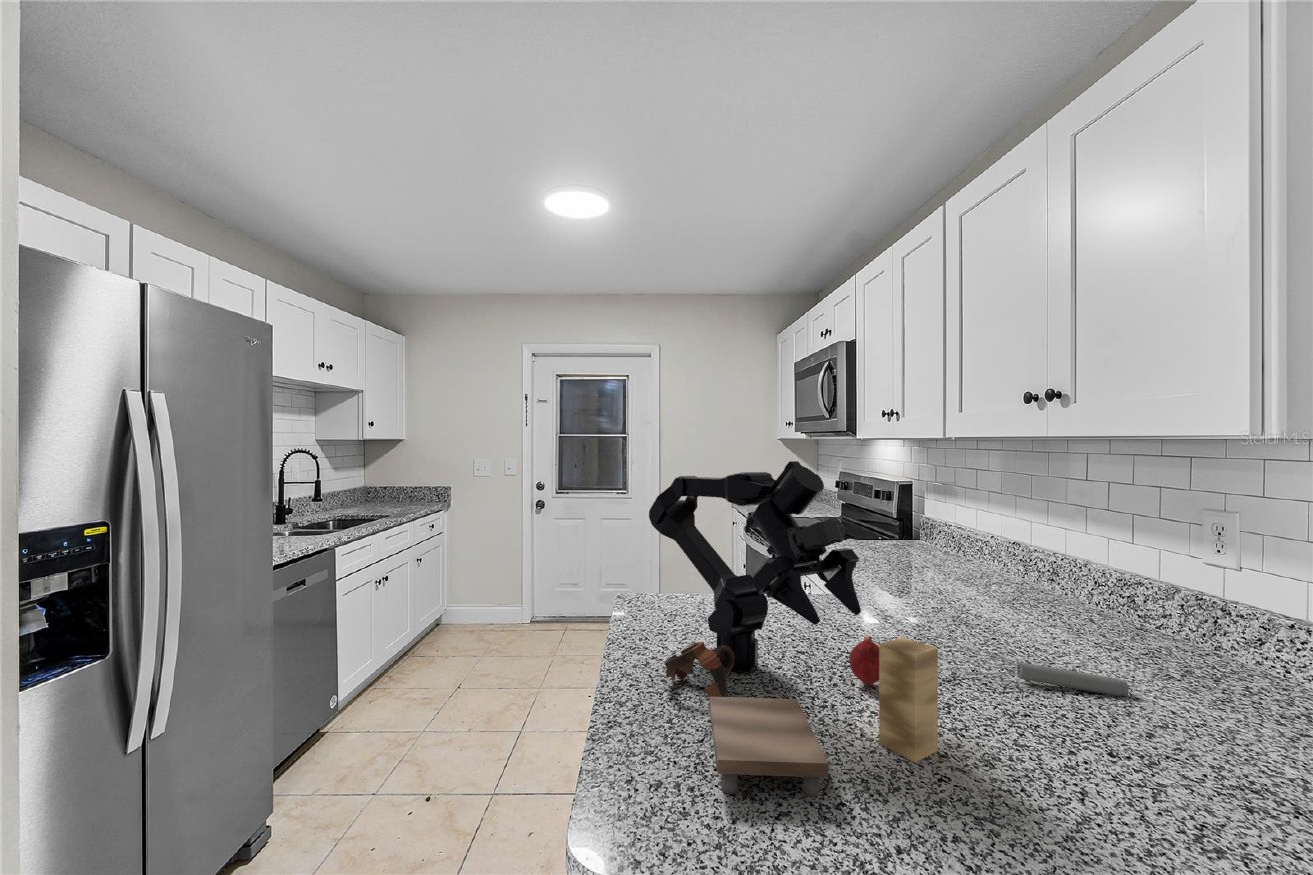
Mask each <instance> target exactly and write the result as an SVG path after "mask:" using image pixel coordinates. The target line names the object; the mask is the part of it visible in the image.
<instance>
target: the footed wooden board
mask: <svg viewBox="0 0 1313 875" xmlns="http://www.w3.org/2000/svg"><path fill="white" fill-rule="evenodd" d="M708 699H709V700H708V704H709V705H708V709H709V717H710V724H711V733H712V734H711V735H712V740H713V742H712V743H713V748H714V754H715V755H714V756H715V765H716V772H717V774H719V775H720V774H721V791H722V792H723V793H725V794H728V795H734V794H737V792H739V775H740V776H741V775H744V776H746V775H748V776H769V777H770V776H774V777H776V776H777V777H797V778H798V777H800V778H802V793H803V794H804V795H806V796H807V797H810V798H817V797H818V796H820V781H821V780H820V779H821V778H827V779H828V778H829V762H828V760H827V758H826V755H825V754H824V751H823V750H822V748H821V746H820V743H819V742H818V739H817V737H816V735H815V733H814V730H813V729H812V727H811V724H810V723H809V720H808V719H807V717H806V715H805V712H804V711H803V709H802V706H801V704H800V702H799V700H798V699H797V698H795V699H794V698H771V697H770V698H768V697H767V698H764V697H763V698H761V697H735V696H734V697H733V696H731V697H730V696H722V697H708Z"/></svg>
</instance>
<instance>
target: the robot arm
mask: <svg viewBox="0 0 1313 875" xmlns="http://www.w3.org/2000/svg"><path fill="white" fill-rule="evenodd" d="M824 488H825V486H824V481H823V480H822V478H821V477H820V476H819V474H817V473H816V472H814V471H812V470H811V469H810V468H808V467H805V466H803V465H802V464H801V463H800V462H799V461H797V460H796V461H795V460H794V461H793V460H791V461H790V460H789V461H788V462H787V463H786V465H785V467H784V469H783V470H782V471H781V473H780V474H779V476H778V477H777V478H776V479H774V477H773V475H772V473H770V472H768V471H751V472H750V471H747V472H746V471H745V472H736V473H733V474H728V475H726V476H724V477H706V476H703V477H700V476H696V475H680V476H678V477H675V478H674V479H673V481H672V483H671V485H670V486H669V487H667V488H666V489H665V490H664V491H662V492H661V493H659V494H658V495H657V497H656V498H655V500H654V501H653V503H652V505H651V507H650V509H649V511H648V518H649V521H650V522H649V523H651V525H652V527H653V528H654V529H655V530H656V531H657V532H659V533H660V535H662V536H665V537H666V538H669V539H671V540H673V541H674V542H676V544H677V545H678V547H679V548H680V549H681V551H682V552H683V553H684V555H685V556H686V557H687V558H688V560H689V561H690V562H691V564H692V565H693V566H694V568H695V569H696V570H697V572H698V573H699V574H700V576H701V577H702V578H703V580H704V581H705V582H706V584H707V585H708V586H709V587H710V588H711V590H712V591H713V603H714V608H715V609H714V610H713V612H712V613H711V614H710V615H709V616H708V617H707V622H708V623H707V624H708V628H709V631H711V632H713V633H715V634H716V648H717V647H719V646H722V645H726V646H728V647H730V648H731V650H732V651H733V653H734V659H735V660H734V665H733V667H732V669H731V671H732V672H739V673H744V674H751V673H752V671H753V670H754V668H755V667H756V666H757V664H758V662H759V640H758V638H756V631H757V630H759V631H760V630H762V629H763V626H764V623H765V621H766V618H767V615H768V612H769V611H768V610H769V601H768V599H769V598H772V599H773V600H775V601H777V602H779V603H780V604H782V605H784V606H785V607H787V608H788V609H790V610H792V611H793V612H795V613H796V614H797V615H799V616H801V618H802V617H803V619H805V620H807V622H810V623H811V624H812V625H813V626H814V625H815V626H816V625H818V624H819V623H820V622H821V619H820V617H819V614H818V613H817V612H818V611H816V609H815V607H814V604H813V603H812V601H811V600H810V598H809V596H808V594H807V593H806V591H805V589H804V588H803V584H802V577H804V576H811V575H817V576H818V578H819V579H820V580H821V581H823V582H824V584H823V586H824V587H825V588H826V589H827V590H828V591H829V592H830V593H831V595H833V596H834V597H835V598H836V599H837V601H839V602H840V603H842V605H843V606H844V607H845V608H847V609H848V611H850V612H851V613H852V614H853V615H855V616H858V615H860V614H861V613H862V608H861V605H860V602H859V598H858V595H857V593H856V589H855V586H854V581H853V572H854V569H855V568H857V563H859V561H860V558H859V556H858V555H857V554H856V552H855V551H854V550H853V548H848V547H847V548H846V547H844V548H843V547H842V548H836V549H832V550H831V551H829V553H827V555H825V557H824V558H823V559H821V558H820V557H821V556H824V554H825V553H826V552H828V550H827V548H826V547H828V546H830V545H833V544H836V543H837V544H838V543H842V542H843V541H844V538H843V537H845V536H846V526H845V525H844V524H843V523H842V522H841V521H840V519H838V518H837V517H828V518H827V519H826V520H823V521H818V522H815V523H813V524H811V525H809V526H807V525H804V526H803V525H801V526H800V524H799V523H798V522H797V521H796V519H795V518H794V516H793V515H799V516H800V515H801V514H803V513H804V512H805V511H806V510H807V509H808V507H809V506H810V505H811V504H812V503H813V502H814V500H816V498H817V497H818V496H819V495H820V494H821V492H822V491H823V490H824ZM681 497H685V499H682V498H681ZM699 497H705V498H718V499H719V498H721V499H724V500H726V502H728V503H730V504H732V505H733V504H734V505H736V506H739V507H747V506H748V507H749V506H756V508H755V509H754V511H751V512H750V511H749V512H748V513H747V519H746V522H745V528H746V529H759V531H760V532H761V533H762V536H763V537H764V538H765V540H766V541H767V543H768V545H769V546H768V548H767V549H766V552H767V554H768V555H769V556H772V557H768V558H767V559H766V560H765V561H764V562H763V564H762V565H761V566H760V567H759V568H758V569H757V571H756V572H755V573H754V574H753V576H752V575H751V574H743V575H736V573H734V572H733V571H732V569H731V568H730V566H728V565H727V563H726V562H725V561H724V560H723V558H722V557H721V555H720V554H719V553H717V551H716V550H715V549H714V547H713V546H712V545H711V543H710V542H709V541H708V540H707V539H706V538H705V536H704V535H703V534H702V533H701V532H700V530H699V529H698V528H697V527H696V517H695V516H696V515H695V512H696V510H697V509H698V498H699ZM773 555H775V556H774V557H773ZM765 594H766V595H765ZM720 661H721V663H722V665H724V662H725V656H724V655H723V654H722V655H721V657H720ZM731 671H730V672H731Z"/></svg>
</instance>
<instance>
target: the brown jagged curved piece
mask: <svg viewBox="0 0 1313 875" xmlns="http://www.w3.org/2000/svg"><path fill="white" fill-rule="evenodd" d="M722 654H723V655H724V656H725V662H724V665H722V663H721V661H720V657H721V655H722ZM696 660H697V661H698V663H699V665H700V667H701V668H702V669H703V670H704V671H708V672H709V673H710V674H711V676H712V678H713V682H712V684H710V685H708V686H707V687H705V689H704V690H705V693H706V694H707V696H708V698H709V697H724V696H725V695H726V694H728V692H729V688H728V682H727V676H728V674H730V672H731V669H732V667H733V665H734V660H735V659H734V653H733V651H732V650H731V648H730V647H728V646H726V645H722V646H719V647H717V646H716V647H714V648H713V649H712V648H711V649H710V648H707V646H706V644H705V642H704V641H699V642H696V643H694V644H692V645H690V646H688V647H686V648H684V649H683V650H681V651H680V654H679V655H678V656H677V654H673V655H672V656H670V657H668V658H667V659H666V660H665V661H664V663H663V664H664V665H665V668H666V673H665V678H671V680H672V681H673V682H674V681H676V677H677V678H678V679H679V680H680V681H683V680H684V679H685V678H687V676H688V674H694V672H695V671H694V668H693V667H694V663H695V661H696Z"/></svg>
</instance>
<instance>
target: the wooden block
mask: <svg viewBox="0 0 1313 875" xmlns="http://www.w3.org/2000/svg"><path fill="white" fill-rule="evenodd" d="M878 646H879V682H878V683H879V684H878V690H879V691H878V694H879V695H878V702H879V703H878V705H879V707H878V711H879V712H878V728H879V729H878V745H879V746H880V747H882V746H884V747H885V748H884V747H883V748H884V749H886V748H888V749H889V751H890V750H891V751H890V752H893V751H894V752H893V753H894V754H896V755H899V756H901V755H902V756H901V757H903V756H904V757H903V758H905V757H906V758H905V759H907V760H908V761H911V762H913V763H917V762H919V761H921V760H924V759H925V758H927V757H929V756H932V755H933V754H934V753H936V752H938V747H939V746H938V744H939V740H938V739H939V738H938V737H939V734H938V732H939V729H938V724H939V723H938V722H939V721H938V720H939V718H938V716H939V715H938V713H939V712H938V710H939V708H938V706H939V705H938V704H939V699H938V697H939V695H938V694H939V692H938V690H939V688H938V686H939V685H938V683H939V681H938V679H939V678H938V676H939V674H938V673H939V672H938V671H939V669H938V668H939V666H938V665H939V662H938V660H939V658H938V657H939V654H938V653H939V652H938V651H939V650H938V649H939V648H938V647H936V646H931V645H928V644H927V643H919V641H917V640H916V641H915V640H912V639H909V638H905V637H903V636H902V637H901V636H900V637H898V638H894V639H892V640H888V641H884V642H881V643H879V645H878ZM888 749H887V750H888ZM928 755H929V756H928ZM926 756H927V757H926Z"/></svg>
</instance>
